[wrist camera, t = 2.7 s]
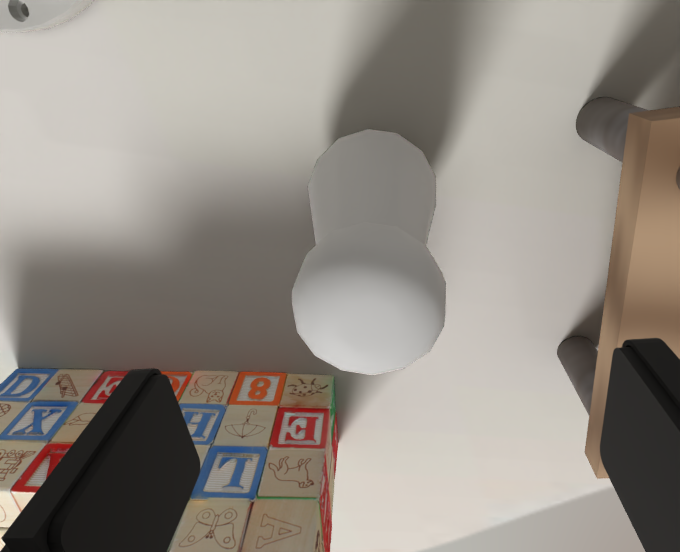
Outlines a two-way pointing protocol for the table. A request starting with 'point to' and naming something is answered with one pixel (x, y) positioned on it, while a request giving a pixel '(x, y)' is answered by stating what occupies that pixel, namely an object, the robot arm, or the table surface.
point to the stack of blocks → (212, 447)
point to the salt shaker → (370, 257)
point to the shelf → (632, 249)
